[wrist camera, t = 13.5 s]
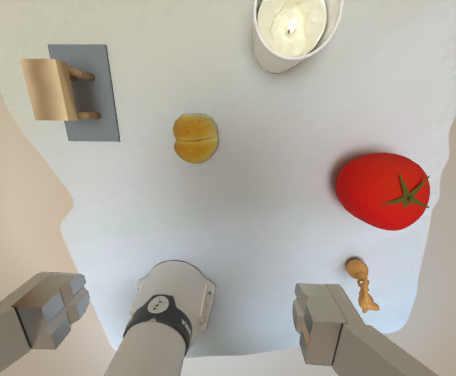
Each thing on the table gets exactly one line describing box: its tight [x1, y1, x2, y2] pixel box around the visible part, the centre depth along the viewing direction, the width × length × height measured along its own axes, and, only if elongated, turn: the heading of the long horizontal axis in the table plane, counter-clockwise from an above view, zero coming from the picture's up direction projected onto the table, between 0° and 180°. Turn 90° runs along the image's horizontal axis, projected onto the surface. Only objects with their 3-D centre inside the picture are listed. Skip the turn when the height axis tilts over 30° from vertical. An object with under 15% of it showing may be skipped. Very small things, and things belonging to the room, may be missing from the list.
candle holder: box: [253, 0, 343, 73], centre depth 29 cm, size 10×10×12 cm
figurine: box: [347, 259, 380, 313], centre depth 41 cm, size 8×6×12 cm
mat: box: [48, 45, 120, 142], centre depth 38 cm, size 16×10×1 cm, turn 179°
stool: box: [20, 59, 102, 121], centre depth 34 cm, size 5×8×8 cm, turn 179°
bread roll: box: [173, 114, 218, 163], centre depth 38 cm, size 8×9×4 cm
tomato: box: [336, 153, 430, 231], centre depth 36 cm, size 12×14×12 cm
